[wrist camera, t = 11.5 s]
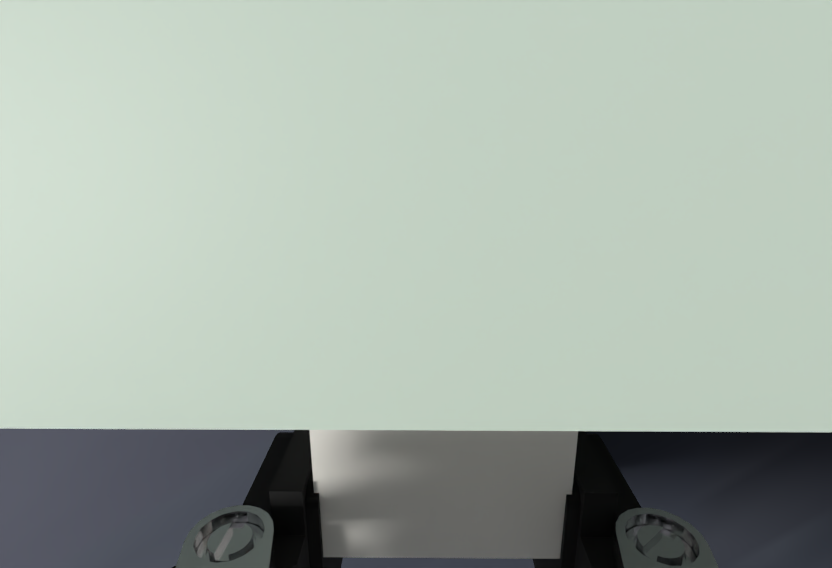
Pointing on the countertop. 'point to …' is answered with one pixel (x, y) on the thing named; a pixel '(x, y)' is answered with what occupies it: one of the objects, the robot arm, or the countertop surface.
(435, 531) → the plug
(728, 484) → the countertop surface
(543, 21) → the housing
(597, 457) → the robot arm
